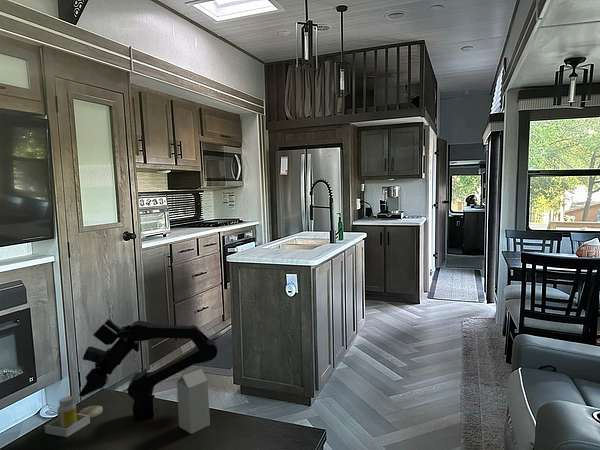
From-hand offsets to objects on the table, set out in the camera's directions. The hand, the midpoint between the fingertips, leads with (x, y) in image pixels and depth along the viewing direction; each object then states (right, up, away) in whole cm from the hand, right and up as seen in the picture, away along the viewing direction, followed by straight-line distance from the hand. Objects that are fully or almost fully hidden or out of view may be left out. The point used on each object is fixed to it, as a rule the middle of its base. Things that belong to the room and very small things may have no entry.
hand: (83, 389), depth 138 cm
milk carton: (+38, -11, -4) cm, 39 cm away
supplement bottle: (-5, -12, -1) cm, 13 cm away
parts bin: (-5, -12, -1) cm, 13 cm away
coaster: (-2, -12, +9) cm, 15 cm away
